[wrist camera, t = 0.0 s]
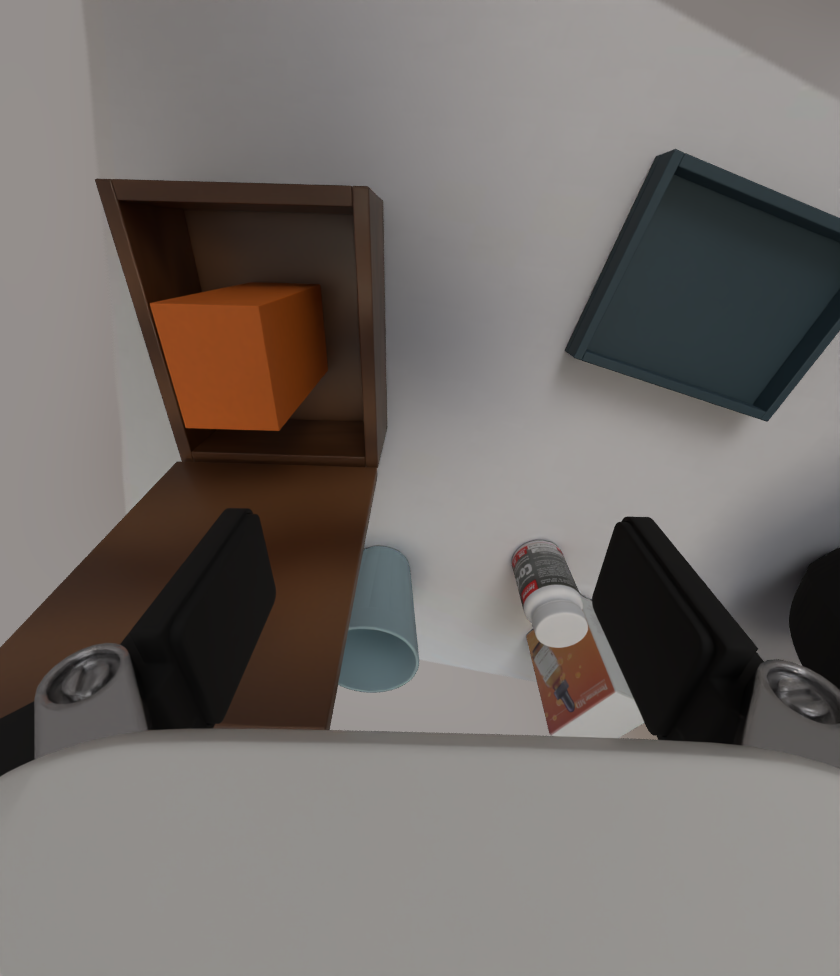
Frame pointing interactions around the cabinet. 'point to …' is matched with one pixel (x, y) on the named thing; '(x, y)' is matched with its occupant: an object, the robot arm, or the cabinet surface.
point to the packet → (243, 353)
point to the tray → (715, 289)
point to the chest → (268, 259)
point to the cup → (381, 625)
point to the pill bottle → (549, 594)
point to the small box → (584, 685)
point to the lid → (166, 545)
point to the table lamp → (818, 618)
